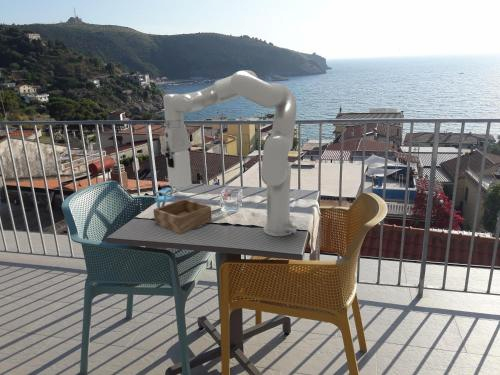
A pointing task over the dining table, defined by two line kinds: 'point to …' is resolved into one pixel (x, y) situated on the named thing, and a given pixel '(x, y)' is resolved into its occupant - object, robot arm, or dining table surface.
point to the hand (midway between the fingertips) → (178, 164)
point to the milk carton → (180, 170)
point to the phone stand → (164, 197)
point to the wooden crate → (182, 215)
